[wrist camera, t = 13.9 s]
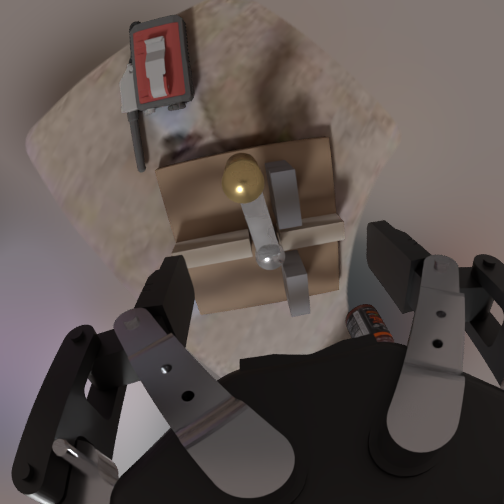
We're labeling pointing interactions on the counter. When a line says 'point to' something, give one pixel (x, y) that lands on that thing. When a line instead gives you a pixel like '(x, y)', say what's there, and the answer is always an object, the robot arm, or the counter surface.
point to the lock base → (238, 234)
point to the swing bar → (253, 207)
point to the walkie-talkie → (155, 73)
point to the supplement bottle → (367, 323)
